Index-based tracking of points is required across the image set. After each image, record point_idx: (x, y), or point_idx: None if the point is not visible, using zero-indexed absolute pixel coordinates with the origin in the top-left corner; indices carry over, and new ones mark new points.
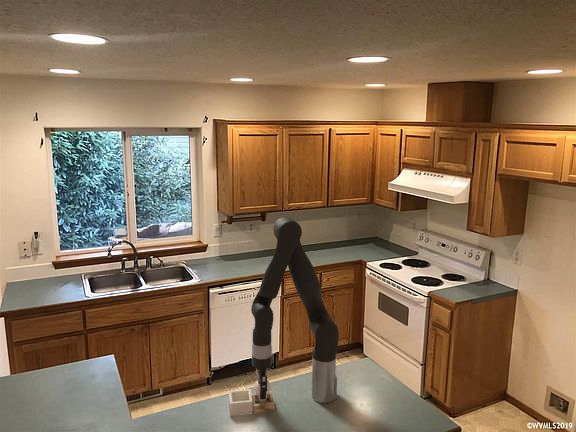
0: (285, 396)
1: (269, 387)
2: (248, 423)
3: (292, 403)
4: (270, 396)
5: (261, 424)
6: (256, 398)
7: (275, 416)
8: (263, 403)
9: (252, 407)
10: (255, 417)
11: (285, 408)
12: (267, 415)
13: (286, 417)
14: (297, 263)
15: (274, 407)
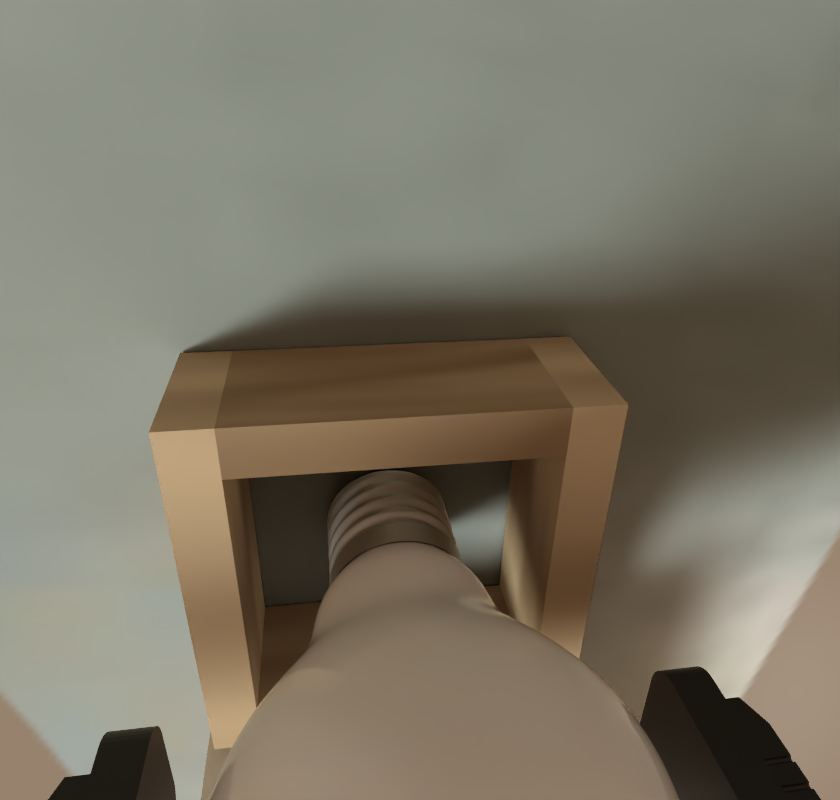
0: (79, 24)
1: (633, 794)
2: (707, 645)
3: None
4: (346, 465)
5: (792, 521)
6: (256, 624)
7: (711, 333)
8: (551, 582)
9: None
10: (627, 584)
11: (550, 115)
12: (641, 445)
13: (816, 146)
14: None
15: (594, 366)
